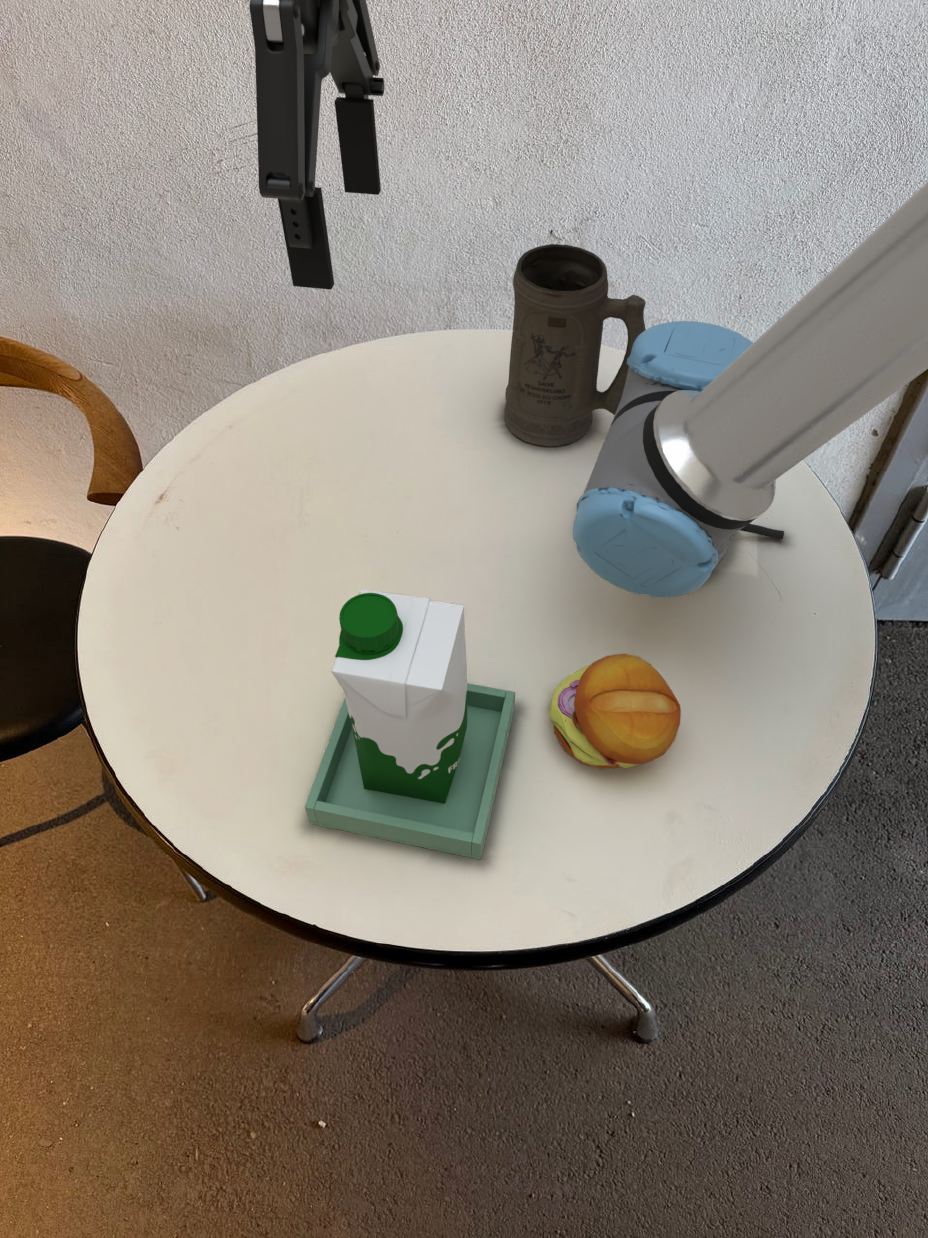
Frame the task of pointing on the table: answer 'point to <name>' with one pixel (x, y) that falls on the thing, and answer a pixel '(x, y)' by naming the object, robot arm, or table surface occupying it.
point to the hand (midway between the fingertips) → (340, 235)
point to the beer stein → (562, 344)
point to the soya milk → (404, 690)
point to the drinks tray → (413, 819)
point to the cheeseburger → (615, 713)
